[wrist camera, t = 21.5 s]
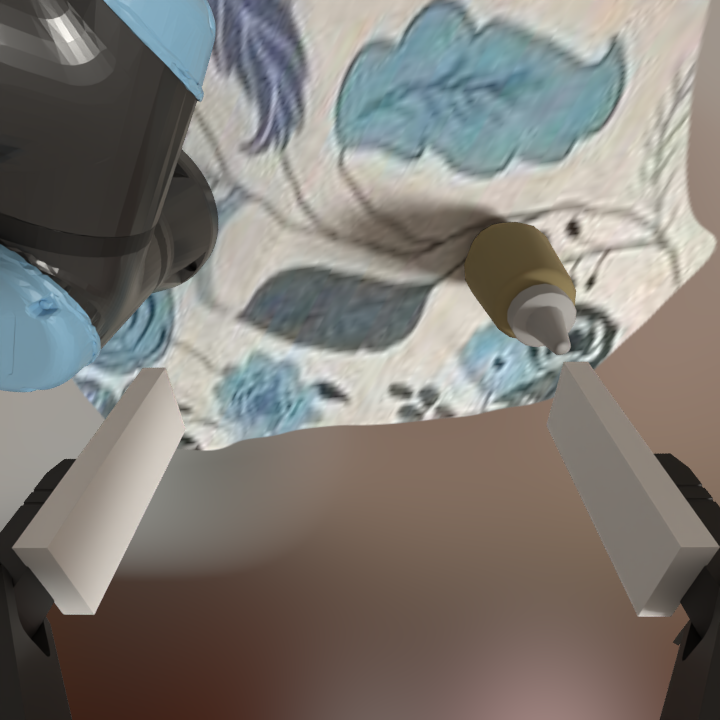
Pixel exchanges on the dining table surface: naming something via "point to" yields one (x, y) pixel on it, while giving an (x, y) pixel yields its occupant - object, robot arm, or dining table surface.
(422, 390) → the dining table surface
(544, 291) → the squeeze bottle
